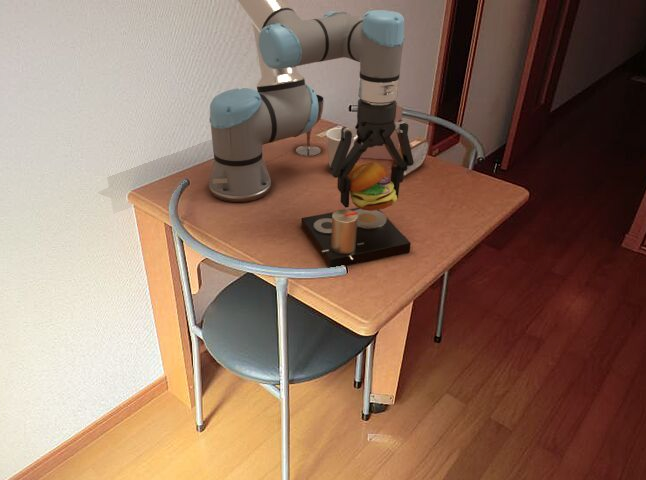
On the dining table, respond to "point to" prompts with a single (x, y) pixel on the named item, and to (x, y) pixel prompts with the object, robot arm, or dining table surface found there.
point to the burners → (364, 221)
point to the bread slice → (415, 153)
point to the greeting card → (381, 151)
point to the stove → (358, 242)
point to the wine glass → (309, 149)
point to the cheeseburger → (371, 187)
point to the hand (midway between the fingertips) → (369, 200)
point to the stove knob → (344, 231)
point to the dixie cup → (336, 142)
